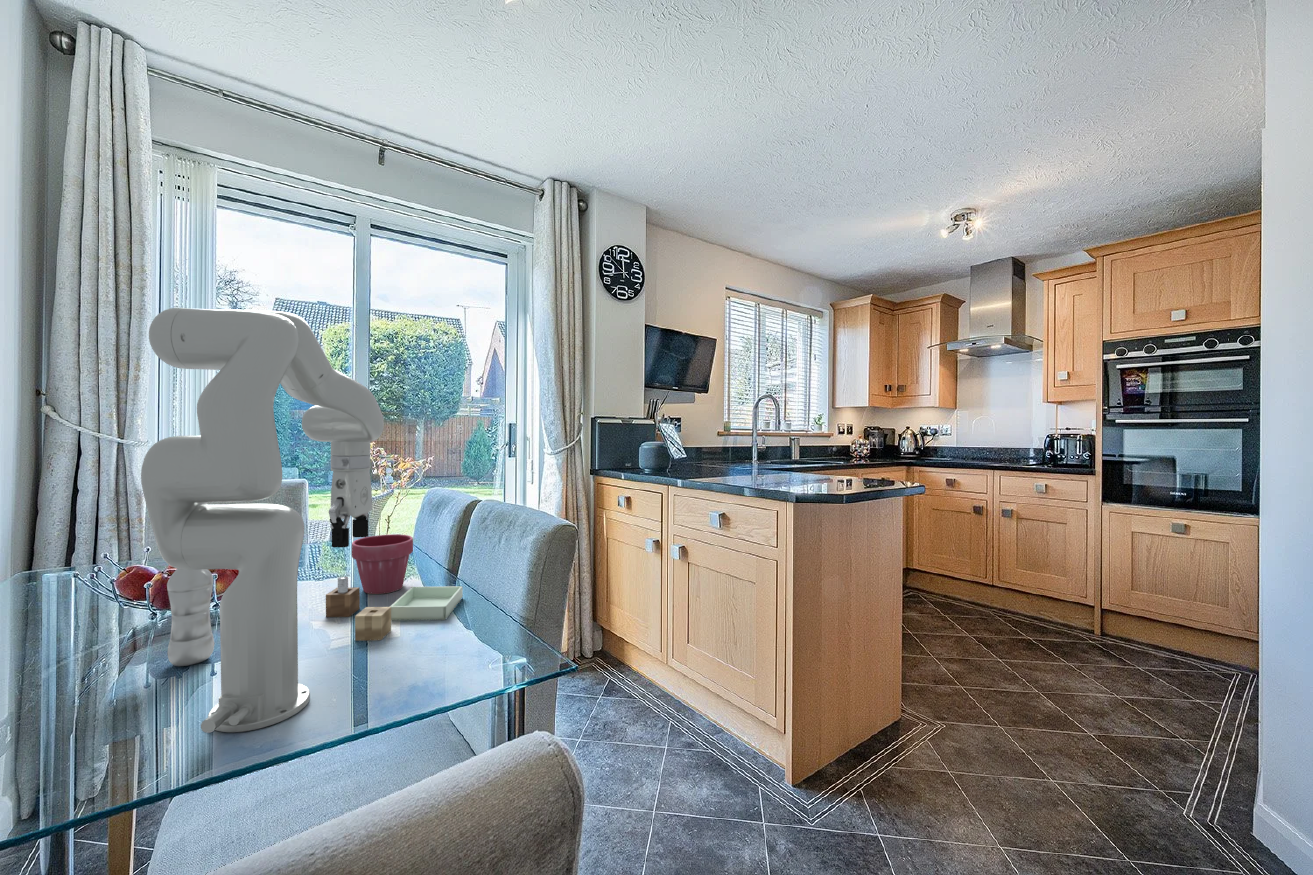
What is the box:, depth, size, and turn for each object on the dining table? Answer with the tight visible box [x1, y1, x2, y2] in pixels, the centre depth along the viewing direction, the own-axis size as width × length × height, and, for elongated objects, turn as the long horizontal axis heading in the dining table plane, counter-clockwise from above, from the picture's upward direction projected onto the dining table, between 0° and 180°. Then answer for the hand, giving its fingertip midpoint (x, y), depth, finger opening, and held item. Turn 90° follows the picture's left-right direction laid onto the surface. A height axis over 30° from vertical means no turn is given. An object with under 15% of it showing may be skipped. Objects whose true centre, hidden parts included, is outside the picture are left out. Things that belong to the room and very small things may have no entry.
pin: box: [337, 576, 349, 593], centre depth 124 cm, size 2×2×8 cm
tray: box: [389, 585, 464, 621], centre depth 127 cm, size 14×12×3 cm
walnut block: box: [325, 587, 361, 618], centre depth 124 cm, size 5×5×5 cm
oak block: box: [354, 606, 392, 642], centre depth 112 cm, size 5×5×5 cm
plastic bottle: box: [166, 568, 215, 667], centre depth 98 cm, size 6×7×20 cm
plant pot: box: [351, 533, 414, 595], centre depth 141 cm, size 14×14×13 cm
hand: (350, 541), depth 119 cm, fingers open, 9 cm apart
